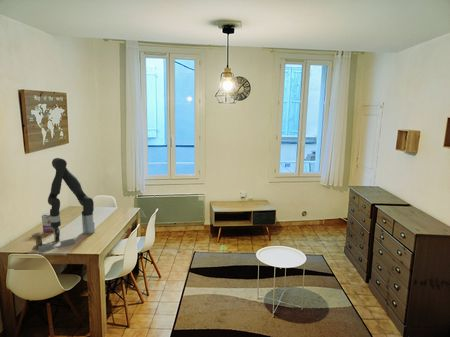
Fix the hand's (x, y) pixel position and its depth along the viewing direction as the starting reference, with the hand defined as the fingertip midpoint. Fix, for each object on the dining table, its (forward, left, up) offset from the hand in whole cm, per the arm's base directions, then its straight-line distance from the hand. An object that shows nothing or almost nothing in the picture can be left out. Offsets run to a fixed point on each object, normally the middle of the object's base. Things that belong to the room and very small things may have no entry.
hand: (56, 239), depth 272 cm
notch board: (+3, +13, -1) cm, 13 cm away
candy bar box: (-1, -27, -2) cm, 27 cm away
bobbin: (+14, +5, -1) cm, 15 cm away
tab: (0, 0, -1) cm, 1 cm away
